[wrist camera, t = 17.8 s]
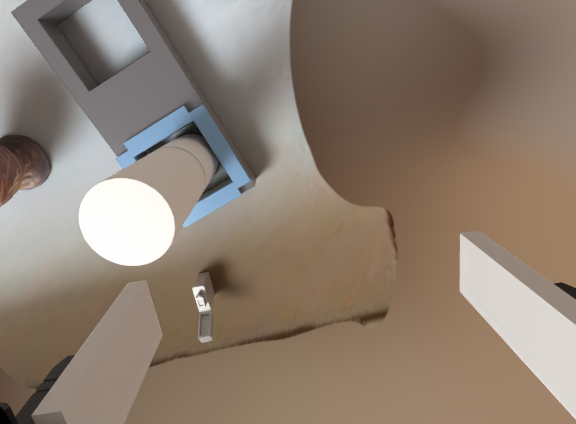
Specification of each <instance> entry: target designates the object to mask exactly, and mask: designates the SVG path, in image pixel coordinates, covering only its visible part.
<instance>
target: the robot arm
mask: <svg viewBox="0 0 576 424" xmlns="http://www.w3.org/2000/svg"><path fill="white" fill-rule="evenodd" d="M460 292H461V293H462V294H463V295H464V297H465V298H466V299H467V300H468V301H469V302H470V303H471V304H472V305H473V307H474V308H475V309H476V310H477V311H478V312H479V313H480V314H481V315H482V316H483V317H484V319H485V320H486V321H487V322H488V323H489V324H490V325H491V326H492V328H493V329H494V330H495V331H496V332H497V333H498V334H499V335H500V336H501V337H502V339H504V341H505V342H506V343H507V344H508V345H509V346H510V347H511V348H512V350H513V351H514V352H515V353H516V354H517V355H518V356H519V357H520V358H521V359H522V361H523V362H524V363H525V364H526V365H527V366H528V367H529V368H530V370H531V371H532V372H533V373H534V374H535V375H536V376H537V377H538V378H539V379H540V381H541V382H542V383H543V384H544V385H545V386H546V387H547V388H548V389H549V390H550V391H551V393H552V394H553V395H554V396H555V397H556V398H557V399H558V400H559V402H560V403H561V404H562V405H563V406H564V407H565V408H566V409H567V410H568V412H569V413H570V414H572V416H573V417H574V418H575V419H576V288H574V287H572V286H569V285H567V284H564V283H555V284H553V283H552V282H550V281H549V280H547V279H546V278H545V277H543V276H542V275H540V274H539V273H538V272H536V271H535V270H533V269H532V268H531V267H529V266H528V265H526V264H525V263H523V262H522V261H520V260H519V259H518V258H516V257H515V256H513V255H512V254H511V253H509V252H508V251H507V250H505V249H504V248H502V247H501V246H499V245H498V244H497V243H495V242H494V241H492V240H491V239H489V238H488V237H487V236H485V235H484V234H483V233H481V232H480V231H473V232H466V233H461V234H460ZM162 336H163V335H162V331H161V328H160V325H159V321H158V318H157V315H156V311H155V308H154V305H153V302H152V298H151V295H150V292H149V288H148V285H147V282H146V280H143V281H136V282H130V283H127V285H126V286H125V287H124V289H123V290H122V292H121V293H120V294H119V296H118V297H117V298H116V300H115V301H114V303H113V304H112V305H111V307H110V308H109V309H108V311H107V312H106V313H105V315H104V316H103V318H102V319H101V320H100V322H99V323H98V324H97V326H96V327H95V329H94V330H93V331H92V333H91V334H90V335H89V337H88V338H87V340H86V341H85V342H84V344H83V345H82V346H81V348H80V349H79V351H78V352H77V353H76V355H72V356H67V357H66V358H65V359H63V360H62V361H61V362H60V363H59V364H57V365H56V366H55V367H54V368H53V369H52V370H51V371H50V373H49V374H48V375H47V377H46V378H45V379H44V380H43V381H44V382H43V383H41V384H40V386H39V387H38V388H37V389H36V393H33V395H32V396H31V397H30V398H29V400H28V401H27V402H26V404H25V405H24V406H23V408H22V409H21V410H20V411H19V413H18V414H17V415H16V417H15V416H14V414H13V412H12V410H11V408H10V406H9V405H8V404H7V403H1V402H0V424H124V423H125V420H126V418H127V416H128V413H129V411H130V409H131V406H132V404H133V402H134V400H135V397H136V395H137V393H138V391H139V388H140V386H141V383H142V381H143V379H144V376H145V374H146V372H147V370H148V368H149V365H150V363H151V361H152V358H153V356H154V354H155V352H156V349H157V347H158V345H159V342H160V340H161V338H162Z"/></svg>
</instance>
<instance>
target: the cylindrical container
mask: <svg viewBox="0 0 576 424" xmlns="http://www.w3.org/2000/svg"><path fill="white" fill-rule="evenodd" d="M217 167H218V158H217V156H216V155H215V153H214V152H213V150H212V148H211V147H210V145H209V144H208V142H207V141H206V139H205V138H204V137H201V136H199V135H195V134H185V135H182V136H179V137H177V138H176V139H174V140H172V141H170V142H169V143H167V144H165V145H164V146H162V147H160V148H158V149H157V150H155V151H153V152H152V153H150V154H148V155H146V156H145V157H143V158H141V159H140V160H138V161H136V162H135V163H133V164H131V165H129V166H128V167H126V168H124V169H123V170H121V171H119V172H117V173H116V174H114V175H112V176H111V177H109V178H107V179H105V180H104V181H102V182H100V183H99V184H97V185H96V186H94V187H93V188H91V190H90V191H89V192H88V193H87V194H86V195H85V197H84V199H83V201H82V202H81V206H80V210H79V223H80V228H81V231H82V234H83V236H84V238H85V239H86V241H87V243H88V244H89V245H90V246H91V247H92V249H93V250H94V251H95V252H97V253H98V254H99V255H101V256H102V257H104V258H105V259H107V260H109V261H111V262H114V263H117V264H121V265H127V266H139V265H143V264H148V263H150V262H153V261H155V260H156V259H158V258H159V257H161V256H162V255H163V254H164V253H165V252H166V251H167V249H168V248H169V246H170V245H171V243H172V242H173V240H174V238H175V237H176V235H177V234H178V232H179V230H180V229H181V227H182V226H183V224H184V222H185V221H186V219H187V218H188V216H189V214H190V213H191V211H192V210H193V208H194V206H195V205H196V203H197V202H198V200H199V198H200V197H201V195H202V193H203V192H204V190H205V189H206V187H207V185H208V184H209V182H210V180H211V179H212V177H213V176H214V174H215V172H216V170H217Z"/></svg>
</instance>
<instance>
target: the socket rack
mask: <svg viewBox="0 0 576 424" xmlns="http://www.w3.org/2000/svg"><path fill="white" fill-rule="evenodd" d="M90 1H92V0H27V1H26V2H24V3H23V4H22V5H20V6H19V7H17V8H16V9H15V10H13V11H12V12H11V13H12V14H13V16H14V17H15V19H16V20H17V21H18V23H19V24H20V25H21V27H22V28H23V29H24V31H25V32H26V33H27V35H28V36H29V38H30V39H31V40H32V42H33V43H34V44H35V46H36V47H37V48H38V50H39V51H40V52H41V54H42V55H43V57H44V58H45V59H46V61H47V62H48V63H49V65H50V66H51V67H52V69H53V70H54V71H55V73H56V74H57V76H58V77H59V78H60V80H61V81H62V82H63V84H64V85H65V86H66V88H67V89H68V90H69V92H70V93H71V95H72V96H73V97H74V99H75V100H76V101H77V103H78V104H79V105H80V107H81V108H82V109H83V111H84V112H85V114H86V115H87V116H88V118H89V119H90V120H91V122H92V123H93V124H94V126H95V127H96V128H97V130H98V131H99V133H100V134H101V135H102V137H103V138H104V139H105V141H106V142H107V143H108V145H109V146H110V147H111V149H112V150H113V152H114V153H115V154H116V156H117V158H116V160H117V162H118V163H119V164H120V166H121V167H122V168H123V169H124V168H126V167H128V166H129V165H131V164H133V163H135V162H136V161H138V160H140V159H141V158H143V157H145V156H146V155H148V154H147V152H146V151H147V150H148V149H150V148H151V147H153V146H155V145H156V144H158V143H159V142H161V141H163V140H164V139H166V138H168V137H169V136H171V135H172V134H174V133H176V132H177V131H179V130H181V129H182V128H184V127H185V126H187V125H189V124H190V123H192V122H193V121H194V122H195V124H196V125H197V127H198V128H199V130H200V131H201V133H202V135H203V136H204V138H205V139H206V141H207V142H208V144H209V145H210V147H211V148H212V150H213V152H214V153H215V155H216V156H217V158H218V159H219V161H220V162H221V164H222V166H223V167H224V169H225V170H226V172H227V173H228V175H229V176H230V178H229V179H227V180H225V181H224V182H222V183H220V184H219V185H217V186H215V187H213V188H212V189H210V190H208V191H207V192H205V193H203V194H202V195H201V197H200V198H199V200H198V202H197V203H196V205H195V206H194V208H193V210H192V211H191V213H190V214H189V216H188V218H187V219H186V221H185V222H184V224H183V226H182V227H181V228H183V227H184V228H185V227H187V226H189V225H190V224H192V223H194V222H196V221H197V220H199V219H201V218H203V217H204V216H206V215H208V214H209V213H211V212H213V211H215V210H216V209H218V208H220V207H222V206H223V205H225V204H227V203H229V202H230V201H232V200H234V199H235V198H237V197H239V196H241V195H242V193H243V192H245V191H247V190H249V189H250V188H252V187H254V186H255V183H256V178H255V176H254V175H253V173H252V171H251V170H250V168H249V166H248V165H247V163H246V162H245V160H244V158H243V157H242V155H241V154H240V152H239V150H238V149H237V147H236V146H235V144H234V142H233V141H232V139H231V138H230V136H229V134H228V133H227V131H226V130H225V128H224V126H223V125H222V123H221V122H220V120H219V118H218V117H217V115H216V114H215V112H214V110H213V109H212V107H211V106H210V104H209V102H208V101H207V99H206V97H205V96H204V94H203V93H202V91H201V89H200V88H199V86H198V85H197V83H196V81H195V80H194V78H193V77H192V75H191V73H190V72H189V70H188V69H187V67H186V65H185V64H184V62H183V61H182V59H181V57H180V56H179V54H178V53H177V51H176V49H175V48H174V46H173V45H172V43H171V41H170V40H169V38H168V37H167V35H166V33H165V32H164V30H163V28H162V27H161V25H160V24H159V22H158V20H157V19H156V17H155V16H154V14H153V12H152V11H151V9H150V8H149V6H148V4H147V3H146V1H145V0H118V2H119V3H120V5H121V6H122V8H123V10H124V11H125V13H126V14H127V16H128V17H129V19H130V20H131V22H132V24H133V25H134V27H135V28H136V30H137V31H138V33H139V34H140V36H141V37H142V39H143V41H144V42H145V44H146V45H147V47H148V48H149V50H150V51H151V52H149V53H148V54H146V55H145V56H143V57H142V58H140V59H139V60H137V61H136V62H134V63H132V64H131V65H129V66H128V67H126V68H125V69H123V70H122V71H120V72H119V73H117V74H116V75H114V76H113V77H111V78H110V79H108V80H107V81H105V82H104V83H102V84H101V85H98V83H97V82H96V80H95V79H94V78H93V76H92V75H91V73H90V72H89V70H88V69H87V68H86V66H85V65H84V63H83V62H82V61H81V59H80V58H79V56H78V55H77V53H76V52H75V51H74V49H73V48H72V46H71V45H70V44H69V42H68V41H67V39H66V38H65V37H64V35H63V34H62V32H61V31H60V29H59V28H58V27H57V24H58V23H60V22H61V21H63V20H64V19H66V18H67V17H69V16H70V15H71V14H73V13H74V12H76V11H77V10H79V9H80V8H81V7H83V6H84V5H86V4H87V3H89V2H90Z"/></svg>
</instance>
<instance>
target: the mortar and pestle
mask: <svg viewBox="0 0 576 424" xmlns="http://www.w3.org/2000/svg"><path fill="white" fill-rule="evenodd" d="M50 172H51V169H50V164H49V161H48V158H47V156H46V155H45V153H44V151H43V150H42V148H41V147H40V146H39V145H38V144H37V143H36V142H35V141H33V140H32V139H30V138H27V137H24V136H18V135H16V136H5V137H3V138H1V139H0V206H2V205H4V204H5V203H6V202H8V201H9V200H10V199H11V198H12V197H13V195H14V194H15V193H16V192H17V191H18V190H29V189H33V188H35V187H37V186H39V185H41V184H43V183H44V182H45V180H46V179H47V177H48V175H49V173H50Z"/></svg>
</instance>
